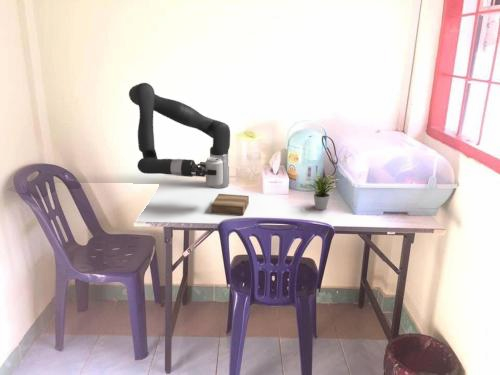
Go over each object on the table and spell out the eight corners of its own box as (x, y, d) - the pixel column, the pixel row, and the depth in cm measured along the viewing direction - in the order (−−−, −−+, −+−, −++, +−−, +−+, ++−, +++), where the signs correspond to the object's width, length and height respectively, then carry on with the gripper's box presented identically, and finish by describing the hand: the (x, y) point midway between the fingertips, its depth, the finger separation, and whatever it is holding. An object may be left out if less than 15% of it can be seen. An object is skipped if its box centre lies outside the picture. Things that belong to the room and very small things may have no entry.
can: (220, 187, 188) (220, 160, 184) (203, 186, 190) (203, 159, 186) (224, 182, 195) (224, 156, 191) (208, 181, 196) (208, 155, 193)
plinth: (219, 201, 203) (219, 193, 202) (248, 204, 201) (248, 195, 199) (211, 212, 190) (211, 204, 189) (242, 215, 188) (242, 206, 186)
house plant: (330, 217, 187) (333, 181, 182) (300, 210, 193) (302, 175, 188) (340, 206, 199) (343, 172, 194) (312, 201, 205) (314, 168, 200)
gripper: (177, 163, 185) (214, 166, 182) (187, 155, 198) (222, 157, 195) (177, 180, 187) (214, 183, 184) (188, 171, 200) (222, 173, 198)
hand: (218, 170), depth 190 cm, fingers closed on can, 7 cm apart
